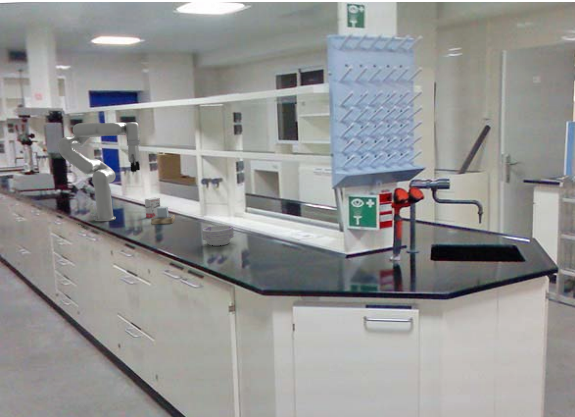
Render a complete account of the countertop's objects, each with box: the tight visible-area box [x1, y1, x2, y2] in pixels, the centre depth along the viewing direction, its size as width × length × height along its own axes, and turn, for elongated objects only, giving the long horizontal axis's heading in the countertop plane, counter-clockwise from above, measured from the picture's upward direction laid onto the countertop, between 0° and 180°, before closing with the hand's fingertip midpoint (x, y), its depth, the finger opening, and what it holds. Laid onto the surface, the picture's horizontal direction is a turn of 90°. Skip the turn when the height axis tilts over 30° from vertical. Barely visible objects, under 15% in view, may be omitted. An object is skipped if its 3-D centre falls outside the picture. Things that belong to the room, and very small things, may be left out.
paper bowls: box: [201, 225, 235, 247], centre depth 272 cm, size 15×15×8 cm
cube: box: [157, 206, 170, 217], centre depth 336 cm, size 6×6×6 cm
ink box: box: [144, 197, 161, 219], centre depth 356 cm, size 9×5×12 cm, turn 143°
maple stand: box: [150, 214, 176, 225], centre depth 337 cm, size 12×12×3 cm
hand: (135, 171), depth 343 cm, fingers open, 9 cm apart
